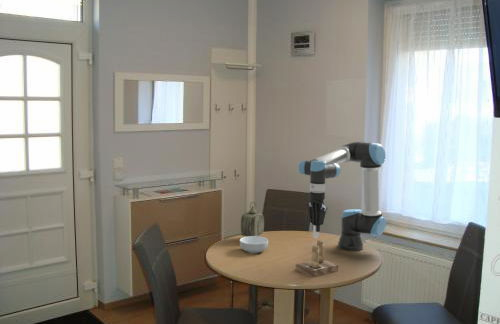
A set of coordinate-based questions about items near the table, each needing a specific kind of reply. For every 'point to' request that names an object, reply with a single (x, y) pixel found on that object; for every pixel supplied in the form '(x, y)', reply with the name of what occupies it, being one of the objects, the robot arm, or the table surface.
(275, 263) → the table surface
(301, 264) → the wooden base block
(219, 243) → the table surface
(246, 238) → the cereal bowl
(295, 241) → the table surface
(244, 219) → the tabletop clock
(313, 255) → the leg peg
